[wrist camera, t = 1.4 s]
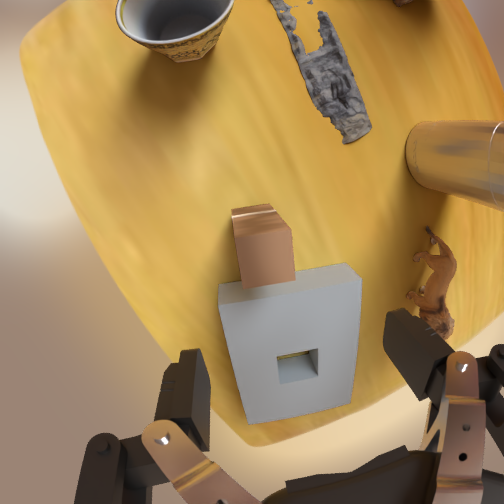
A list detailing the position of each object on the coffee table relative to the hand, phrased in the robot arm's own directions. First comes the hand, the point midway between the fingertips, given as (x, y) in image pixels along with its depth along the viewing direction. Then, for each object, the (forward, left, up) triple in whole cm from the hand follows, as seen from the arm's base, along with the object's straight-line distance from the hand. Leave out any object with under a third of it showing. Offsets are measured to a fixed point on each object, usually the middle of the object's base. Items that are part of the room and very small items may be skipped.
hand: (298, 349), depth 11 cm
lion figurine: (-24, +12, -22) cm, 35 cm away
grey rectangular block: (-3, +18, -22) cm, 29 cm away
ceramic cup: (+4, -24, -22) cm, 33 cm away
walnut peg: (0, 0, -22) cm, 22 cm away
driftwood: (-11, -18, -23) cm, 31 cm away
